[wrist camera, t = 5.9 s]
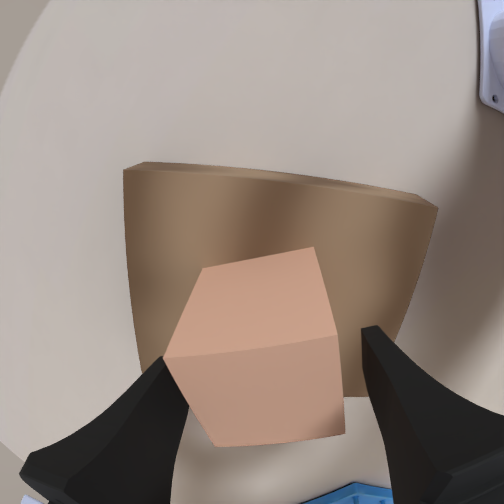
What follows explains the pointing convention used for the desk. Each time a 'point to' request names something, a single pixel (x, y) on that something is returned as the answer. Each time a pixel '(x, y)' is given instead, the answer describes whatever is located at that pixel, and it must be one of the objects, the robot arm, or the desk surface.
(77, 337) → the desk surface
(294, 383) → the terracotta block
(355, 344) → the block
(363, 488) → the file sorter
